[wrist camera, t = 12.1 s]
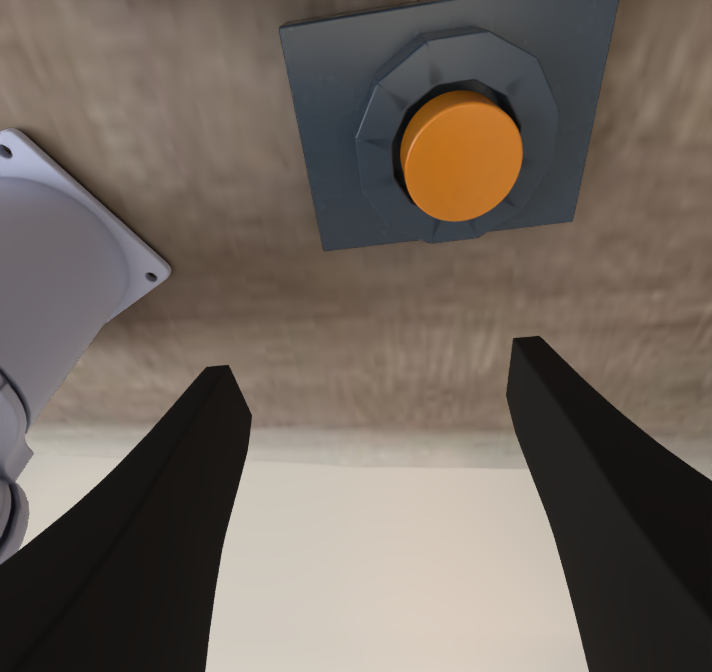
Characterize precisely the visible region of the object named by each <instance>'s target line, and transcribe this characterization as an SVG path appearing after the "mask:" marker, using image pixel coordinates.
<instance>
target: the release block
mask: <svg viewBox="0 0 712 672" xmlns="http://www.w3.org/2000/svg"><path fill="white" fill-rule="evenodd" d="M618 2H619V0H419V1H412V2H406V3H400V4H394V5H388V6H382V7H376V8H370V9H364V10H357V11H351V12H345V13H339V14H333V15H327V16H321V17H315V18H309V19H302V20H296V21H290V22H286V23H284V24H283V25H282V26H280V27H279V33H280V38H281V43H282V48H283V53H284V58H285V63H286V68H287V73H288V78H289V83H290V88H291V93H292V98H293V103H294V108H295V113H296V118H297V123H298V128H299V133H300V138H301V143H302V148H303V153H304V158H305V163H306V168H307V173H308V178H309V183H310V188H311V193H312V198H313V203H314V208H315V212H316V217H317V222H318V227H319V232H320V237H321V242H322V247H323V251H333V250H341V249H349V248H358V247H366V246H374V245H383V244H391V243H399V242H407V241H416V240H422V241H425V242H427V243H441V242H449V241H457V240H466V239H474V238H478V237H480V236H482V235H483V234H485V233H486V232H490V231H499V230H507V229H515V228H524V227H532V226H540V225H549V224H557V223H565V222H572V221H573V218H574V213H575V208H576V203H577V199H578V194H579V189H580V184H581V180H582V175H583V170H584V165H585V160H586V156H587V151H588V146H589V141H590V136H591V132H592V127H593V122H594V117H595V113H596V108H597V103H598V98H599V93H600V89H601V84H602V79H603V74H604V69H605V65H606V60H607V55H608V50H609V46H610V41H611V36H612V31H613V26H614V22H615V17H616V12H617V7H618ZM457 90H467V91H473V92H477V93H480V94H482V95H484V96H486V97H488V98H489V99H491V100H492V101H493V102H494V103H495V104H496V105H497V106H499V107H500V108H501V109H502V110H503V111H504V112H505V113H507V114H508V115H509V116H510V117H511V119H512V120H513V121H514V123H515V124H516V126H517V128H518V130H519V133H520V135H521V139H522V145H523V159H522V164H521V169H520V172H519V175H518V177H517V180H516V182H515V184H514V185H513V187H512V189H511V190H510V192H509V193H508V194H507V196H506V197H505V198H504V199H503V200H502V201H501V202H500V203H499V204H498V205H497V206H495V207H494V208H493V209H491V210H490V211H488V212H486V213H485V214H483V215H481V216H478V217H476V218H473V219H470V220H465V221H445V220H440V219H437V218H434V217H432V216H430V215H428V214H427V213H425V212H424V211H422V210H421V209H420V208H419V207H418V206H417V205H416V204H415V202H414V201H413V199H412V198H411V196H410V194H409V192H408V189H407V186H406V182H405V178H404V174H403V171H402V167H401V161H400V149H401V142H402V138H403V135H404V132H405V130H406V128H407V126H408V124H409V122H410V120H411V119H412V118H413V116H414V115H415V114H416V112H417V111H418V110H419V109H420V108H421V107H422V106H423V105H425V104H426V103H427V102H429V101H430V100H431V99H433V98H435V97H437V96H439V95H441V94H444V93H447V92H451V91H457Z"/></svg>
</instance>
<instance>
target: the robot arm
mask: <svg viewBox="0 0 712 672" xmlns="http://www.w3.org/2000/svg"><path fill="white" fill-rule="evenodd" d="M3 145H5V146H6V147H8V148H9V149H10V150H11V152H12V155H10V154H9V153H7V152H6V150H5V149H4V146H3ZM149 272H150V273H153V274H155V275H156V277H152V276H150V274H149ZM170 274H171V268H170V266H169V264H168V263H167V262H166V261H165V260H163V259H162V258H161V257H160V256H159V255H158V254H157V253H156V252H155V251H153V250H152V249H151V248H150V247H149V246H148V245H147V244H146V243H145V242H143V241H142V240H141V239H140V238H139V237H138V236H137V235H136V234H135V233H133V232H132V231H131V230H130V229H129V228H128V227H127V226H126V225H125V224H123V223H122V222H121V221H120V220H119V219H118V218H117V217H116V216H115V215H113V214H112V213H111V212H110V211H109V210H108V209H107V208H106V207H105V206H103V205H102V204H101V203H100V202H99V201H98V200H97V199H96V198H95V197H93V196H92V195H91V194H90V193H89V192H88V191H87V190H86V189H85V188H83V187H82V186H81V185H80V184H79V183H78V182H77V181H76V180H75V179H74V178H72V177H71V176H70V175H69V174H68V173H67V172H66V171H65V170H64V169H62V168H61V167H60V166H59V165H58V164H57V163H56V162H55V161H54V160H52V159H51V158H50V157H49V156H48V155H47V154H46V153H45V152H44V151H42V150H41V149H40V148H39V147H38V146H37V145H36V144H35V143H34V142H32V141H31V140H30V139H29V138H28V137H27V136H26V135H25V134H23V133H22V132H21V131H19V130H17V129H14V128H7V129H5V130H2V131H1V132H0V672H205V668H206V660H207V651H208V642H209V633H210V626H211V618H212V611H213V604H214V597H215V590H216V583H217V578H218V572H219V565H220V559H221V553H222V548H223V544H224V539H225V535H226V531H227V527H228V523H229V520H230V516H231V512H232V508H233V505H234V501H235V497H236V493H237V490H238V486H239V482H240V479H241V475H242V470H243V467H244V463H245V459H246V455H247V451H248V444H249V437H250V429H251V420H252V414H251V412H250V410H249V408H248V406H247V404H246V401H245V399H244V397H243V395H242V393H241V391H240V388H239V386H238V384H237V382H236V380H235V378H234V375H233V373H232V371H231V369H230V367H229V365H223V366H212V367H206V368H205V369H204V370H203V371H202V372H201V374H200V375H199V376H198V377H197V378H196V379H195V380H194V382H193V383H192V384H191V385H190V386H189V387H188V388H187V390H186V391H185V392H184V393H183V394H182V395H181V397H180V398H179V399H178V400H177V401H176V402H175V404H174V405H173V406H172V407H171V408H170V409H169V410H168V412H167V413H166V414H165V415H164V416H163V417H162V418H161V420H160V421H159V422H158V423H157V424H156V425H155V426H154V427H153V429H152V430H151V431H150V432H149V433H148V434H147V435H146V436H145V437H144V438H143V439H142V440H141V441H140V442H139V443H138V445H137V446H136V447H135V448H134V449H133V450H132V451H131V452H130V453H129V454H128V455H127V456H126V457H125V458H124V459H123V460H122V461H121V462H120V463H119V464H118V466H116V468H114V469H113V470H112V471H111V472H110V473H109V474H108V475H107V476H106V477H105V478H104V479H103V480H102V481H101V482H100V483H99V484H98V485H97V486H96V487H94V488H93V489H92V490H91V491H90V492H89V493H88V494H87V495H86V496H84V497H83V498H82V499H81V500H80V501H79V502H78V503H77V504H75V505H74V506H73V507H72V508H71V509H70V510H69V511H67V512H66V513H65V514H64V515H62V516H61V517H60V518H59V519H58V520H56V521H55V522H54V523H53V524H51V525H50V526H49V527H48V528H46V529H45V530H44V531H43V532H42V533H40V534H39V535H38V536H37V537H35V538H34V539H33V540H32V541H31V542H29V543H28V544H27V545H25V546H24V547H23V548H22V549H20V550H19V548H20V546H21V544H22V541H23V538H24V536H25V533H26V530H27V526H28V519H29V504H28V500H27V497H26V495H25V492H24V491H23V489H22V488H21V487H20V486H19V485H18V484H17V483H16V482H15V481H16V480H17V478H18V477H19V475H20V474H21V472H22V471H23V469H24V468H25V466H26V465H27V463H28V462H29V460H30V459H31V457H32V456H33V454H34V453H33V451H32V450H31V449H30V448H29V447H28V445H27V444H26V441H25V434H26V433H27V432H28V430H29V429H30V427H31V426H32V425H33V423H34V422H35V420H36V419H37V418H38V416H39V415H40V413H41V412H42V411H43V409H44V408H45V406H46V405H47V404H48V402H49V401H50V399H51V398H52V397H53V395H54V394H55V392H56V391H57V390H58V388H59V387H60V385H61V384H62V383H63V381H64V380H65V378H66V377H67V376H68V374H69V373H70V371H71V370H72V369H73V367H74V366H75V364H76V363H77V362H78V360H79V359H80V357H81V356H82V355H83V353H84V352H85V350H86V349H87V348H88V346H89V345H90V343H91V342H92V341H93V339H94V338H95V336H96V335H97V334H98V332H99V331H100V329H101V328H102V327H103V325H104V324H105V323H107V322H108V321H110V320H111V319H112V318H114V317H115V316H116V315H118V314H119V313H121V312H122V311H123V310H125V309H126V308H127V307H129V306H130V305H131V304H133V303H134V302H136V301H137V300H138V299H140V298H141V297H142V296H144V295H145V294H147V293H148V292H149V291H151V290H152V289H153V288H155V287H156V286H158V285H159V284H160V283H162V282H163V281H164V280H166V279H167V278H168V277H169V275H170ZM506 397H507V401H508V405H509V409H510V414H511V418H512V421H513V425H514V429H515V433H516V436H517V438H518V441H519V444H520V446H521V449H522V452H523V454H524V457H525V459H526V462H527V465H528V467H529V470H530V472H531V475H532V478H533V480H534V483H535V485H536V488H537V491H538V493H539V496H540V498H541V501H542V503H543V506H544V509H545V511H546V514H547V517H548V520H549V523H550V526H551V529H552V532H553V534H554V538H555V542H556V545H557V549H558V552H559V556H560V560H561V563H562V567H563V570H564V574H565V578H566V582H567V585H568V589H569V593H570V597H571V600H572V604H573V608H574V612H575V616H576V620H577V624H578V628H579V632H580V636H581V640H582V645H583V649H584V653H585V657H586V661H587V665H588V669H589V672H712V481H711V480H710V479H708V478H707V477H706V476H704V475H703V474H701V473H700V472H698V471H697V470H695V469H694V468H692V467H691V466H690V465H688V464H687V463H685V462H684V461H683V460H681V459H680V458H678V457H677V456H676V455H674V454H673V453H671V452H670V451H669V450H667V449H666V448H664V447H663V446H662V445H661V444H659V443H658V442H657V441H655V440H654V439H653V438H651V437H650V436H649V435H648V434H646V433H645V432H644V431H643V430H641V429H640V428H639V427H638V426H637V425H635V424H634V423H633V422H632V421H630V420H629V419H628V418H627V417H626V416H624V415H623V414H622V413H621V412H620V411H619V410H617V409H616V408H615V407H614V406H613V405H612V404H610V403H609V402H608V401H607V400H606V399H605V398H604V397H603V396H602V395H600V394H599V393H598V392H597V391H596V390H595V389H594V388H593V387H592V386H591V385H589V384H588V383H587V382H586V381H585V380H584V379H583V378H582V377H581V376H580V375H579V374H578V373H577V372H576V371H575V370H574V369H573V368H572V367H571V366H570V365H569V364H568V363H566V362H565V361H564V360H563V359H562V358H561V357H560V356H559V355H558V354H557V353H556V352H555V351H554V350H553V349H552V348H551V347H550V346H549V345H548V344H547V343H546V342H545V341H544V340H543V339H542V338H541V337H540V336H532V337H521V338H513V344H512V352H511V360H510V368H509V376H508V384H507V392H506ZM18 550H19V551H18Z"/></svg>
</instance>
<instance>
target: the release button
mask: <svg viewBox="0 0 712 672" xmlns="http://www.w3.org/2000/svg"><path fill="white" fill-rule="evenodd" d="M522 159H523V145H522V139H521V135H520V133H519V130H518V128H517V126H516V124H515V123H514V121H513V120H512V119H511V117H510V116H509V115H508V114H507V113H505V112H504V111H503V110H502V109H501V108H500V107H499V106H497V105H496V104H495V103H494V102H493V101H492V100H491V99H489V98H488V97H486V96H484V95H482V94H480V93H477V92H473V91H467V90H457V91H451V92H447V93H444V94H441V95H439V96H437V97H435V98H433V99H431V100H430V101H429V102H427V103H426V104H425V105H423V106H422V107H421V108H420V109H419V110H418V111H417V112H416V114H415V115H414V116H413V118H412V119H411V120H410V122H409V124H408V126H407V128H406V130H405V132H404V135H403V138H402V142H401V149H400V161H401V167H402V171H403V174H404V178H405V182H406V186H407V189H408V192H409V194H410V196H411V198H412V199H413V201H414V202H415V204H416V205H417V206H418V207H419V208H420V209H421V210H422V211H424V212H425V213H427V214H428V215H430V216H432V217H434V218H437V219H440V220H445V221H465V220H470V219H473V218H476V217H478V216H481V215H483V214H485V213H486V212H488V211H490V210H491V209H493V208H494V207H495V206H497V205H498V204H499V203H500V202H501V201H502V200H503V199H504V198H505V197H506V196H507V194H508V193H509V192H510V190H511V189H512V187H513V185H514V184H515V182H516V180H517V177H518V175H519V172H520V169H521V164H522Z"/></svg>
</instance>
